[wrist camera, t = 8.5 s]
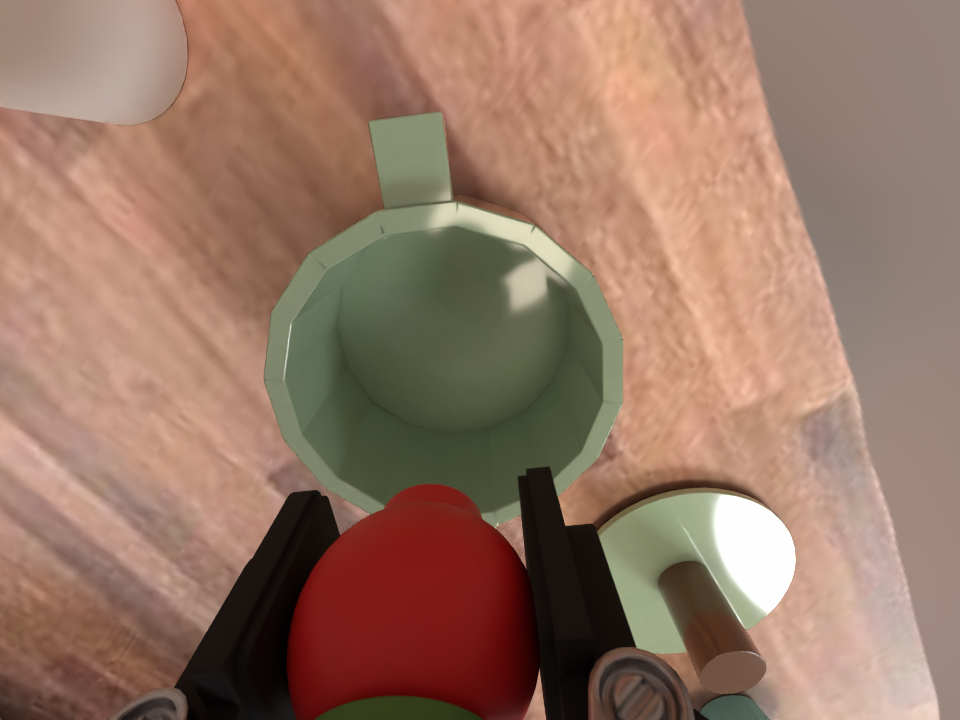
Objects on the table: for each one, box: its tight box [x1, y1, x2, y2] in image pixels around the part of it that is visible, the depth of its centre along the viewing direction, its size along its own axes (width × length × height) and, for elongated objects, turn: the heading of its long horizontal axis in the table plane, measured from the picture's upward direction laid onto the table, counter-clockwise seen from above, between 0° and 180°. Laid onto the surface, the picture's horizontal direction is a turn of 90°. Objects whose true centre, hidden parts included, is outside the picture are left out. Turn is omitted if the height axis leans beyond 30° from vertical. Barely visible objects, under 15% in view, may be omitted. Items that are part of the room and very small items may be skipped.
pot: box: [264, 111, 623, 530], centre depth 20 cm, size 14×19×8 cm
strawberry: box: [286, 484, 540, 720], centre depth 8 cm, size 4×4×6 cm
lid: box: [597, 488, 796, 694], centre depth 27 cm, size 15×15×7 cm
